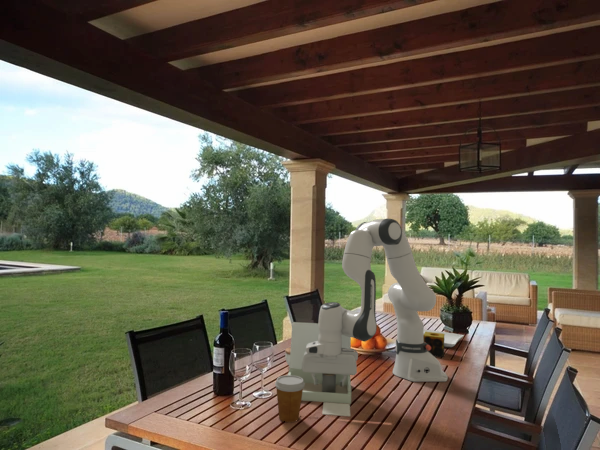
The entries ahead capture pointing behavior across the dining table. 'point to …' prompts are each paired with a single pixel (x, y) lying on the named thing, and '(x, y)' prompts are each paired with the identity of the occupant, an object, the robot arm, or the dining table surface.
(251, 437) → the dining table surface
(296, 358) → the pale grey-green hollow box
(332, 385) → the nursery pot
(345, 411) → the stone tile
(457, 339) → the square plate
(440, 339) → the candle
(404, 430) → the dining table surface
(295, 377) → the disposable coffee cup
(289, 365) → the lidded jar
